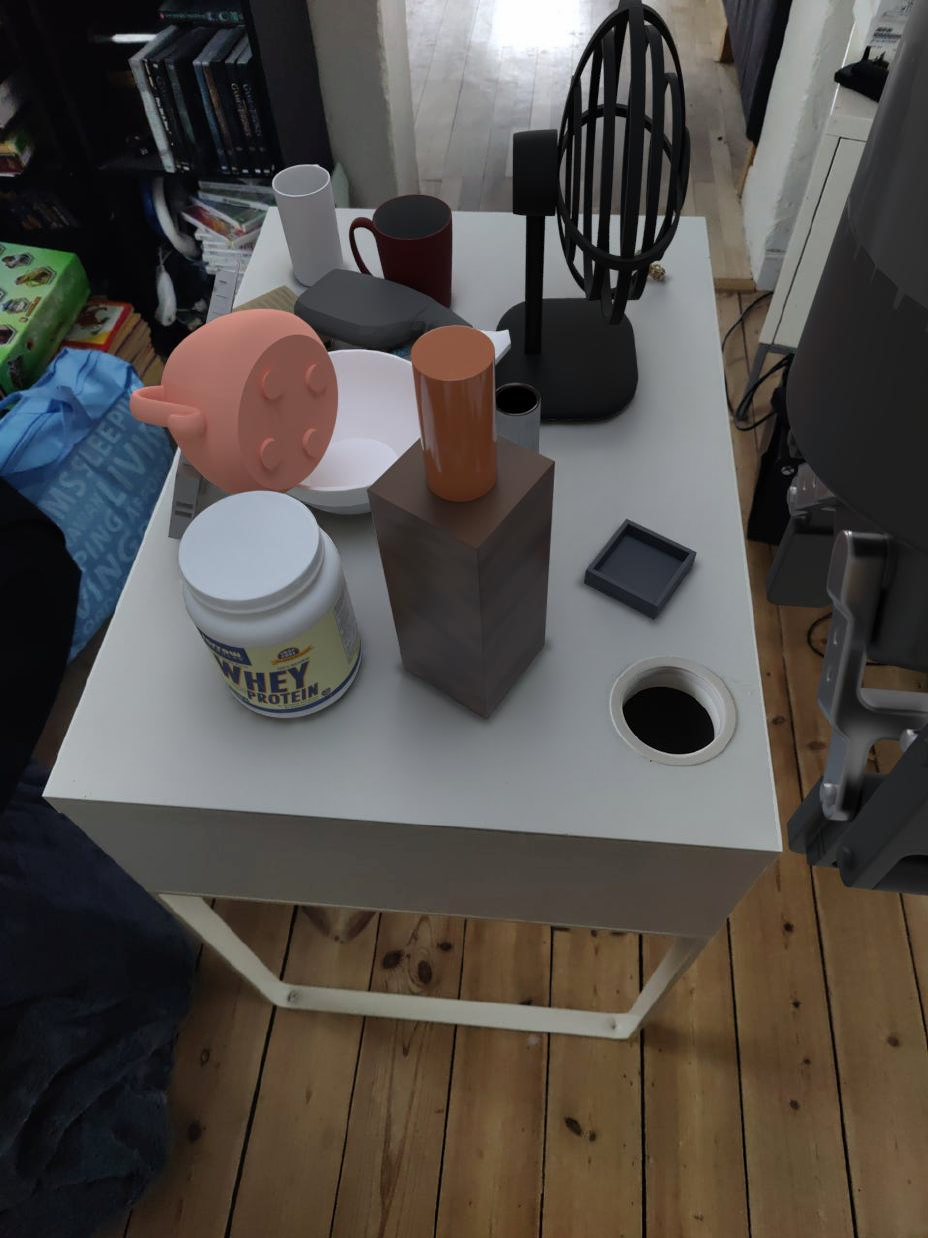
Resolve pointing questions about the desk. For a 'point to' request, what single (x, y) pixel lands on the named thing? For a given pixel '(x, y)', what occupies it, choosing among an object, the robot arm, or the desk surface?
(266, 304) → the ink box
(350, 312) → the spray bottle
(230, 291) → the building model
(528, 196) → the desk fan
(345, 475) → the bowl
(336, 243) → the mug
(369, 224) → the mug
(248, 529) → the supplement tub
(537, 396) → the gray hollow tube
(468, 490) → the copper brown cylinder
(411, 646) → the plant stand
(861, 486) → the robot arm
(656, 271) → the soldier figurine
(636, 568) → the tray
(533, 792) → the desk surface
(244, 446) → the teapot
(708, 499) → the desk surface
